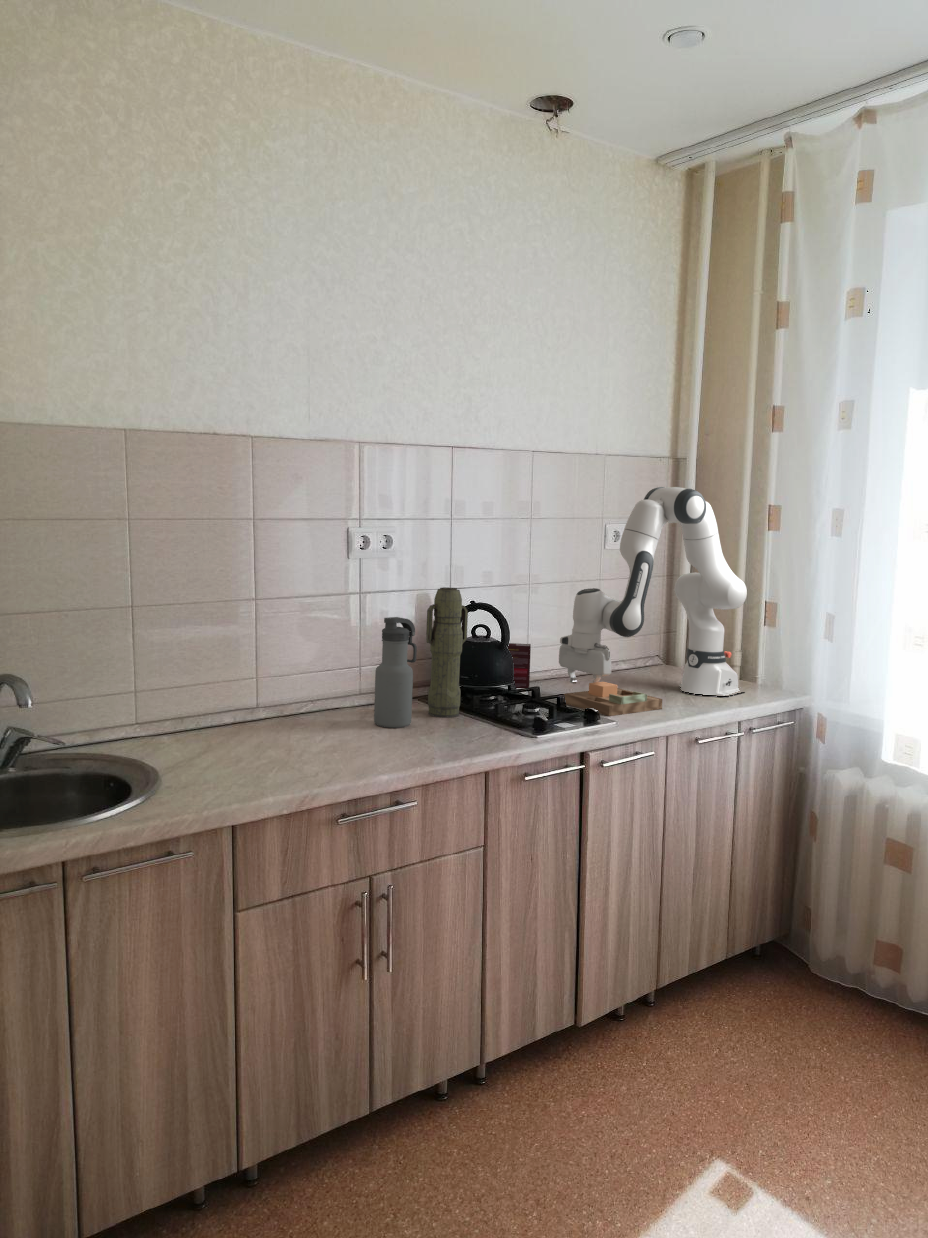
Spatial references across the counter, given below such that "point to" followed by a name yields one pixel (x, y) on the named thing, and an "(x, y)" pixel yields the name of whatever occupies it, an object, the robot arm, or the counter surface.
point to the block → (602, 689)
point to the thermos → (446, 651)
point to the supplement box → (521, 663)
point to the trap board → (614, 702)
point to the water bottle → (395, 675)
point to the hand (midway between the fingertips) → (583, 685)
